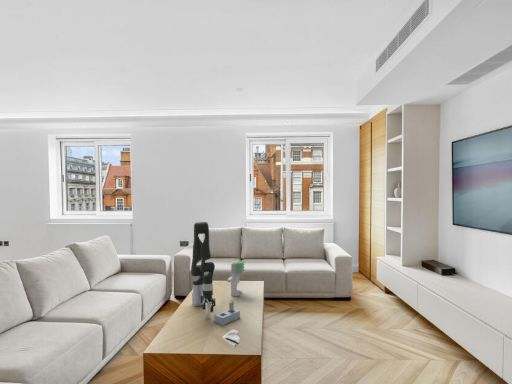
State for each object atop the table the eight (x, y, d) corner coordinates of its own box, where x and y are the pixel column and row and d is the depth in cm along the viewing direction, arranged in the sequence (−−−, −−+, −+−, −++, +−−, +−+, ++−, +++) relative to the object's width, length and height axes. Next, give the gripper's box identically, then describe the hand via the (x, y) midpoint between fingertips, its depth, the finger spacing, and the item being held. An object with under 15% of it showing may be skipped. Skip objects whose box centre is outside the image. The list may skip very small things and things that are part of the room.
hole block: (214, 321, 233) (214, 315, 233) (231, 314, 247) (231, 308, 247) (222, 325, 227) (222, 318, 227) (240, 317, 241) (239, 310, 241)
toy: (238, 300, 280) (238, 265, 280) (227, 299, 282) (227, 265, 282) (247, 289, 309) (247, 258, 309) (237, 289, 311) (237, 258, 311)
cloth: (225, 329, 222) (225, 326, 222) (245, 330, 221) (245, 326, 221) (217, 347, 196) (217, 343, 196) (239, 348, 195) (239, 344, 195)
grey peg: (228, 317, 240) (228, 301, 240) (231, 316, 243) (231, 300, 243) (231, 319, 238) (231, 302, 238) (234, 317, 241) (234, 301, 241)
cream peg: (204, 318, 240) (204, 302, 240) (208, 317, 242) (208, 301, 242) (207, 319, 238) (207, 303, 238) (211, 318, 240) (210, 302, 240)
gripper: (197, 288, 241) (197, 309, 241) (210, 292, 232) (210, 314, 232) (205, 286, 247) (205, 307, 247) (217, 289, 238) (218, 311, 238)
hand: (207, 310), depth 240 cm, fingers open, 8 cm apart
